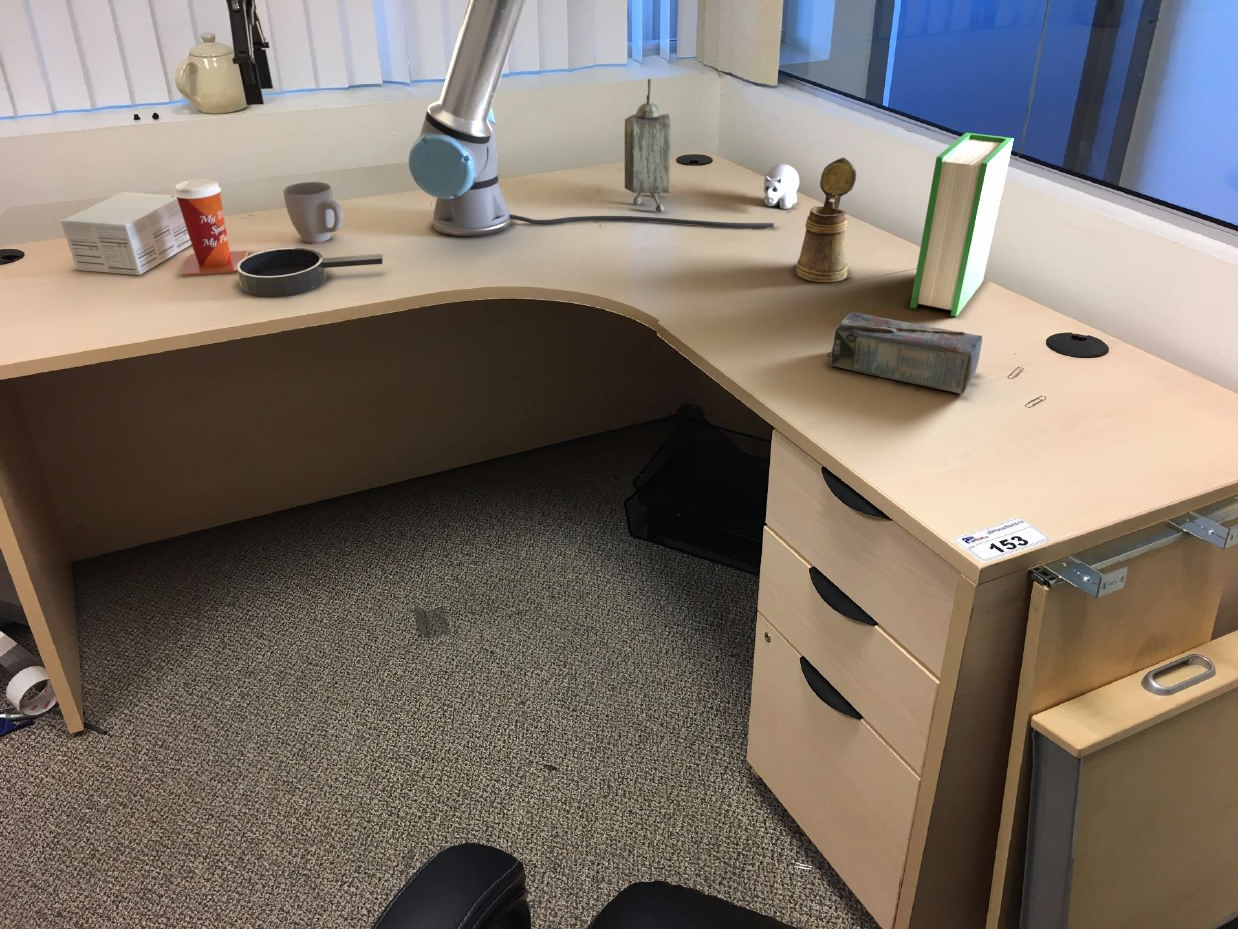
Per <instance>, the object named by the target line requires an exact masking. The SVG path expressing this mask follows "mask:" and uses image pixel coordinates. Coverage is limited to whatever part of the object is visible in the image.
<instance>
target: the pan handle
mask: <svg viewBox="0 0 1238 929" xmlns="http://www.w3.org/2000/svg"><path fill="white" fill-rule="evenodd" d="M383 260H384V258H383V254H382V253H378V254H363V255H350V256H349V255H348V256H334V257H323V268H325V269H330V268H344V267H345V268H346V267H359V266H361V267H362V266H373V265H375V266H376V265H383V262H384V261H383Z"/></svg>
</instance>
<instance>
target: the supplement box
mask: <svg viewBox="0 0 1238 929" xmlns="http://www.w3.org/2000/svg"><path fill="white" fill-rule="evenodd" d="M60 224H61V227H62V230H63V232H64V235H65V238H66V241H67V245H68V248H69V250H70V253H71V256H72V259H73V262H74V264H75V268H76V270H77V271H85V272H86V271H87V272H98V273H108V274H110V273H111V274H120V275H121V274H123V275H133V276H141V275H143V274H144V273H146V272H148V271H149V270H151V269H152V268H154V267H156V266H157V265H159V264H161V263H163V262H165V261H166V260H168V259H169V258H171V257H173V256H174V255H176V254H178V253H179V252H181V251H183V250H184V249H186V248H188V247H189V246H192V243H191V240H190V237H189V234H188V231H187V228H186V225H185V222H184V218H183V215H182V212H181V209H180V206H179V203H178V200H177V197H175V196H174V194H159V193H158V194H156V193H141V192H140V193H139V192H127V191H124V192H122V191H121V192H119V193H116V194H115V195H112V196H110V197H108V198H106V199H104V200H102V201H100V202H98V203H95V204H94V205H91V206H90V207H87V208H85V209H83V210H81V211H79V212H77V213H74V214H72V215H70V216H68V217H66V218H63V219H61V220H60Z"/></svg>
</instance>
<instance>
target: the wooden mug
mask: <svg viewBox="0 0 1238 929" xmlns="http://www.w3.org/2000/svg"><path fill="white" fill-rule="evenodd" d="M856 182H857V171H856V168H855V166H854V165H853V163H852V162H850V161H849V160H848V159H847V158H846V157H840V158H838V159H836V160H834V161H832V162H830V163H829V164H827V165H826V166H825V167H824V168H823V171H822V173H821V175H820V181H819V186H820V189H821V191H822V192H823V194H824V195H825V199H824V204H823V206H814V207H811V208H810V209H809V210H810V211H809V214H808V216H807V217H806V221H805V226H804V227H805V232H804V233H805V234H804V238H803V242H802V245H801V250H800V254H799V257H798V259H797V262H796V270H795V271H796V272H795V273H796V275H797V276H798V277H800V278H802V279H803V280H807V281H810V282H816V283H835V282H840V281H843V280H844V279H846V278H847V276H848V264H847V260H846V258H847V257H846V254H847V253H846V252H847V251H846V229H847V228H848V219H847V216H846V213H847V212H846V210H844V209H841V208H839V207H840V203H841V198H842V197H843V196H846V195H847V194H848V193H850V192H852V190H853V189H854V187H855V185H856Z"/></svg>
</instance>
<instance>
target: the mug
mask: <svg viewBox="0 0 1238 929" xmlns="http://www.w3.org/2000/svg"><path fill="white" fill-rule="evenodd" d="M282 192H283V199H284V203H285V207H286V210H287V214H288V216H289V219H290V221H291V223H292V225H293V227H294V229H295V230H296V232H297V234H299V237H300V238H301V241H303V242H304V243H308V244H317V243H322V242H326V241H328V240H330V239H331V234H332V233H335V232H337V231H339V230H340V229H341V228H342V225H343V220H344V215H343V210H342V207H341V205H340V204H339V202H338V201H336V200H334V194H333V189H332V186H331V184H329V183H326V182H319V181H307V182H298V183H294V184H291V185H288V186H286V187H285V188H284V189H283V191H282Z"/></svg>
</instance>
